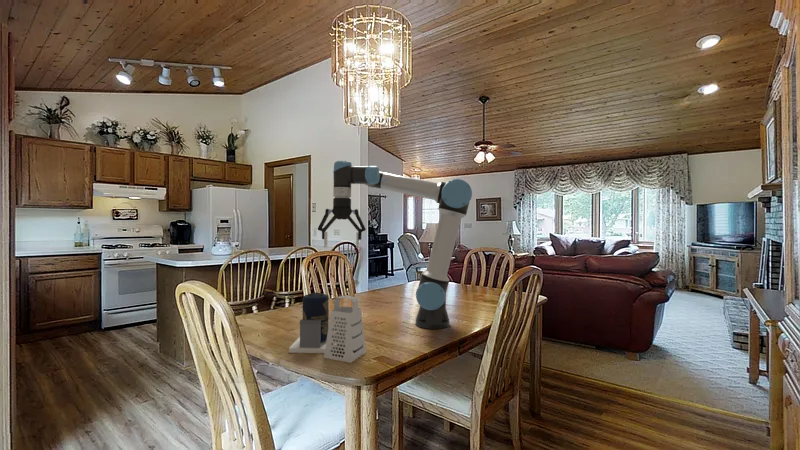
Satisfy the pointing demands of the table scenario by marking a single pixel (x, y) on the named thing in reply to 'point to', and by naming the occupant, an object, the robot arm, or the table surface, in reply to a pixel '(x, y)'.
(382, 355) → the table surface
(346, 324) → the grater
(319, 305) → the canister
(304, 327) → the napkin holder
